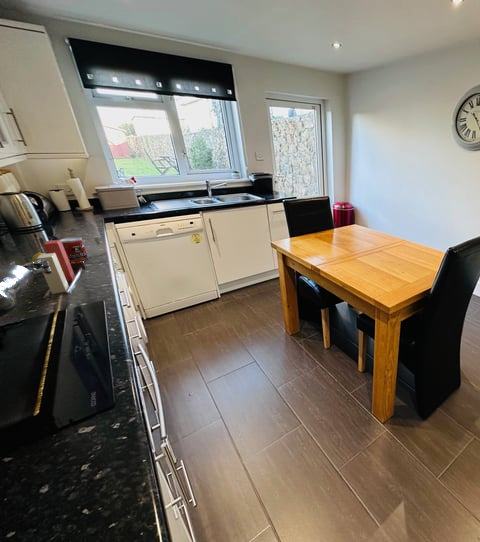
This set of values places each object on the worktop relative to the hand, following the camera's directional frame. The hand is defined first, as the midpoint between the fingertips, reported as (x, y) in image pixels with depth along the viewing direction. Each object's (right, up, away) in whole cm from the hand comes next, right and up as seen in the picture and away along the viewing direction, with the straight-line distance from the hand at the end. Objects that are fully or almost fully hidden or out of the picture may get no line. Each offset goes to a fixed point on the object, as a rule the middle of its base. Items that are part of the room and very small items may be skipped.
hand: (27, 263), depth 87 cm
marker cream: (-11, -10, +19) cm, 24 cm away
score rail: (-16, -8, +27) cm, 33 cm away
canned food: (-36, +3, +51) cm, 62 cm away
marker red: (-17, -6, +28) cm, 34 cm away
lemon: (-40, -2, +40) cm, 57 cm away
